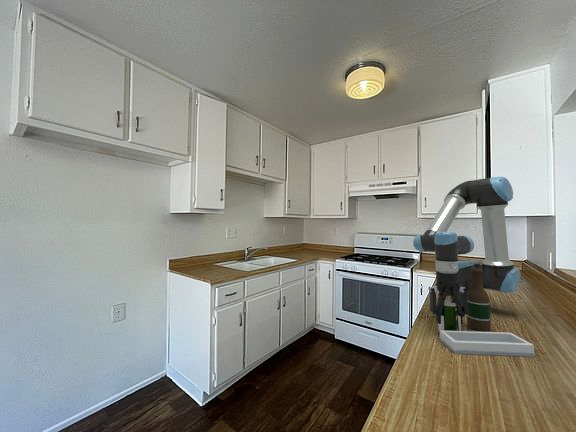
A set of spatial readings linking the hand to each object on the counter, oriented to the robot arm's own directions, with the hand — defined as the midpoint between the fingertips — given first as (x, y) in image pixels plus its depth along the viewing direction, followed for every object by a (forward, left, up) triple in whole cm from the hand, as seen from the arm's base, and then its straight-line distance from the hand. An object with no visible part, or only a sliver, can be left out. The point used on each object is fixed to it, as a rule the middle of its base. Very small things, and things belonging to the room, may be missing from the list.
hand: (449, 332), depth 95 cm
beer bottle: (-7, +15, -1) cm, 16 cm away
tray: (+10, +6, -1) cm, 12 cm away
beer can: (0, 0, 0) cm, 0 cm away
